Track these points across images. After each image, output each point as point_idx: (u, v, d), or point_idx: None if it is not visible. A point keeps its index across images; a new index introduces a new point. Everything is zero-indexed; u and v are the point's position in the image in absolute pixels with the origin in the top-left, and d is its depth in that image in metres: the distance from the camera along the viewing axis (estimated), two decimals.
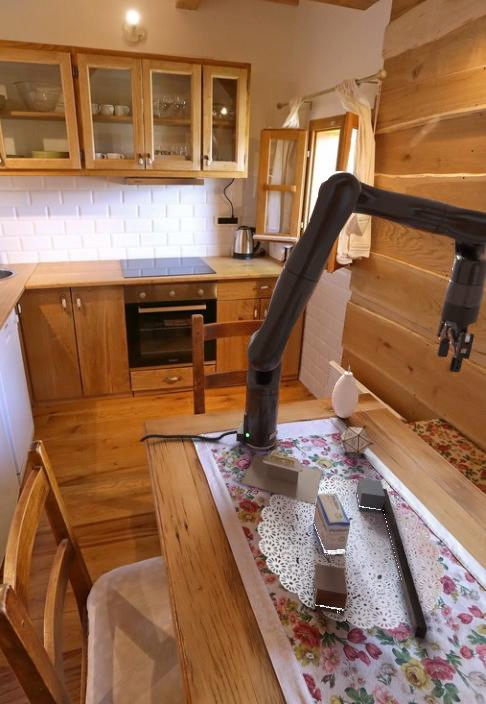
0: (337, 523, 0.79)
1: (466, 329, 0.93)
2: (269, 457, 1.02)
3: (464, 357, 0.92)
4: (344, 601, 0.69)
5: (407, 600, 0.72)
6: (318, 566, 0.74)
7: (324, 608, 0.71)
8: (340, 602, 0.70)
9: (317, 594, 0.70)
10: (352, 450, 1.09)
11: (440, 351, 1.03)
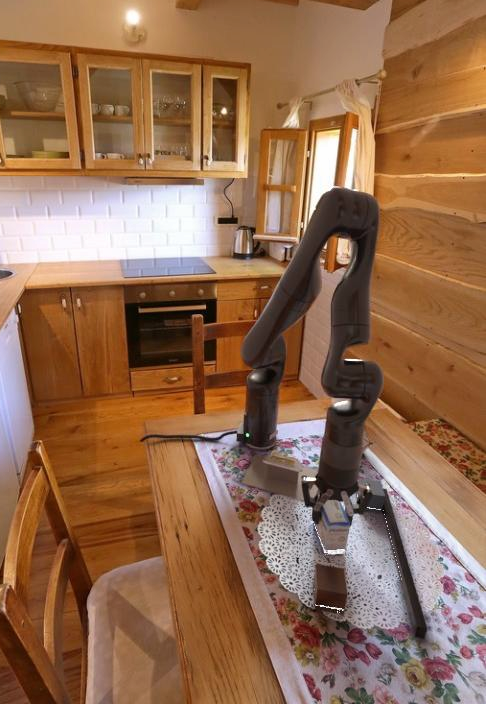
0: (337, 523, 0.79)
1: (317, 479, 0.80)
2: (269, 457, 1.02)
3: None
4: (344, 601, 0.69)
5: (407, 600, 0.72)
6: (318, 566, 0.74)
7: (324, 608, 0.71)
8: (340, 602, 0.70)
9: (317, 594, 0.70)
10: None
11: None
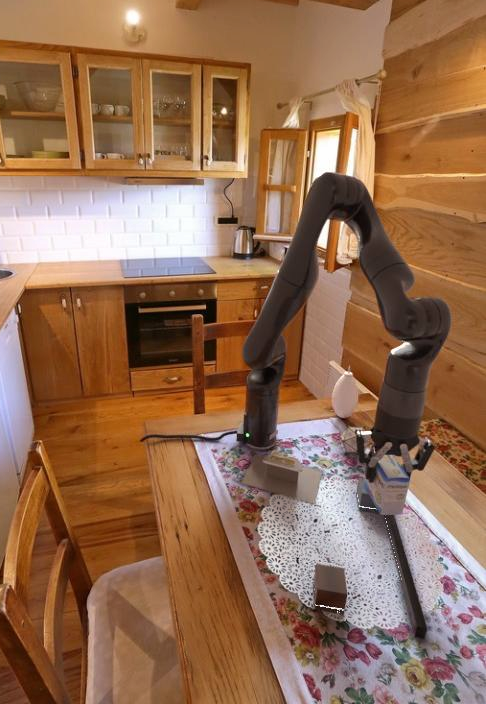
0: (396, 478, 0.73)
1: (374, 432, 0.74)
2: (269, 457, 1.02)
3: None
4: (344, 601, 0.69)
5: (407, 600, 0.72)
6: (318, 566, 0.74)
7: (324, 608, 0.71)
8: (340, 602, 0.70)
9: (317, 594, 0.70)
10: (352, 450, 1.09)
11: None
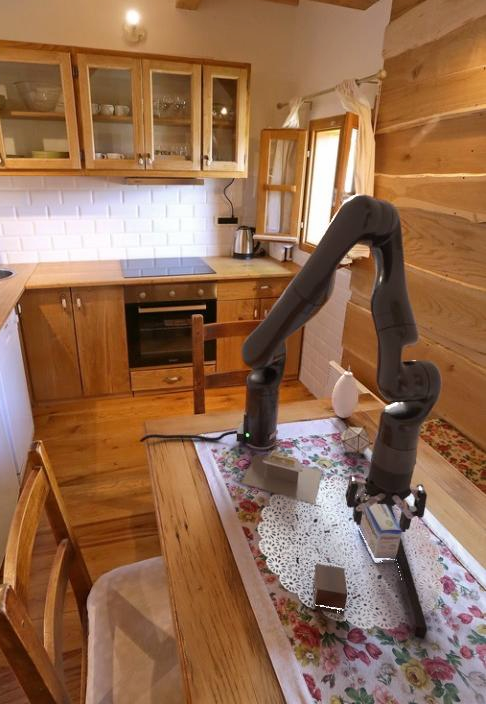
0: (389, 530, 0.77)
1: (367, 482, 0.78)
2: (269, 457, 1.02)
3: None
4: (344, 601, 0.69)
5: (407, 600, 0.72)
6: (318, 566, 0.74)
7: (324, 608, 0.71)
8: (340, 602, 0.70)
9: (317, 594, 0.70)
10: (352, 450, 1.09)
11: (400, 519, 0.81)
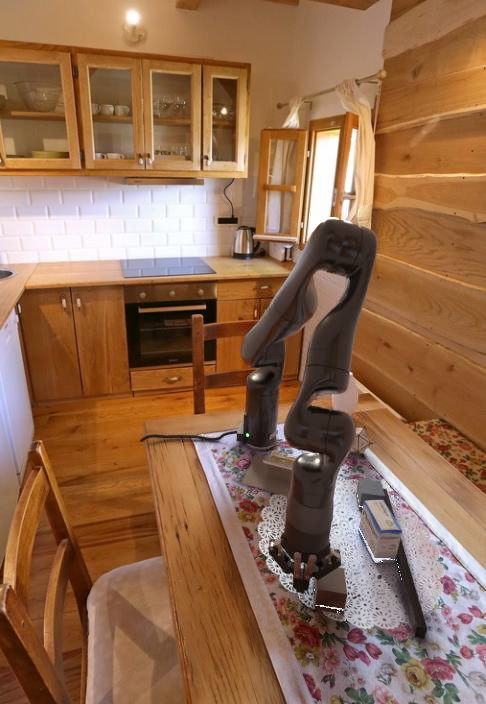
0: (389, 530, 0.77)
1: (283, 539, 0.70)
2: (269, 457, 1.02)
3: None
4: (344, 601, 0.69)
5: (407, 600, 0.72)
6: None
7: (324, 608, 0.71)
8: (340, 602, 0.70)
9: (317, 594, 0.70)
10: (352, 450, 1.09)
11: None
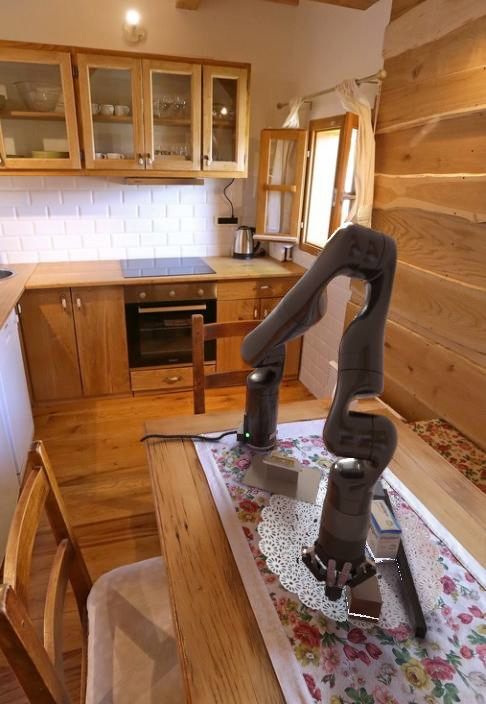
0: (389, 530, 0.77)
1: (317, 546, 0.68)
2: (269, 457, 1.02)
3: None
4: (379, 610, 0.68)
5: (407, 600, 0.72)
6: None
7: (358, 617, 0.69)
8: (374, 611, 0.68)
9: (351, 603, 0.69)
10: None
11: None
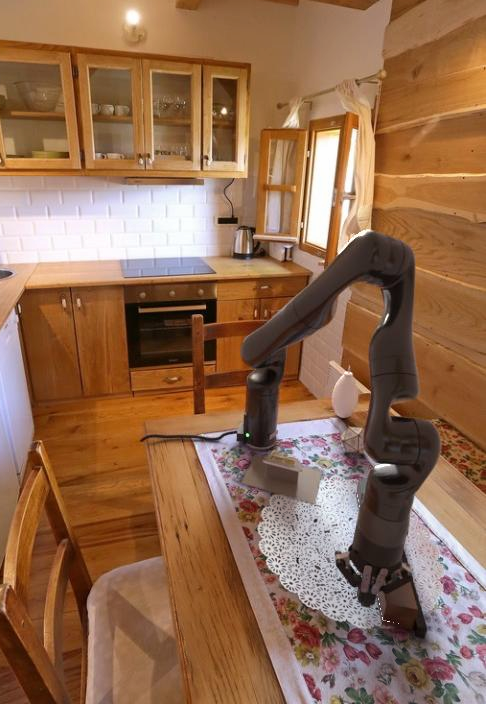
0: None
1: (352, 552, 0.67)
2: (269, 457, 1.02)
3: None
4: (414, 616, 0.67)
5: None
6: None
7: (392, 623, 0.69)
8: (409, 617, 0.68)
9: (386, 609, 0.68)
10: (352, 450, 1.09)
11: None
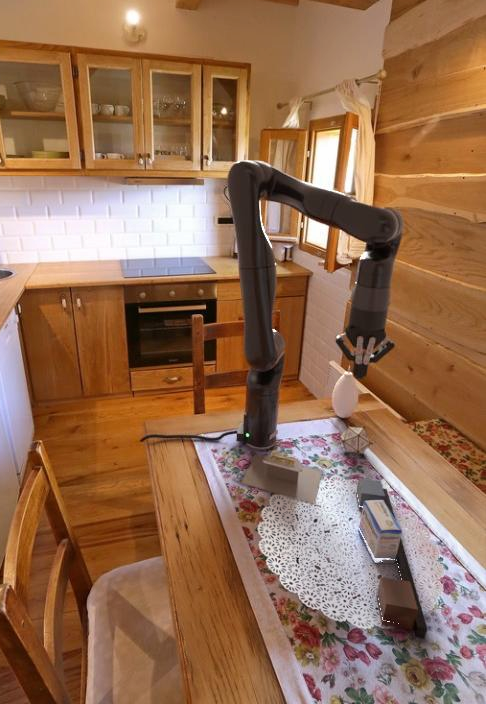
0: (389, 530, 0.77)
1: (348, 329, 0.88)
2: (269, 457, 1.02)
3: None
4: (414, 616, 0.67)
5: None
6: (383, 579, 0.71)
7: (392, 623, 0.69)
8: (409, 617, 0.67)
9: (386, 609, 0.68)
10: (352, 450, 1.09)
11: None
